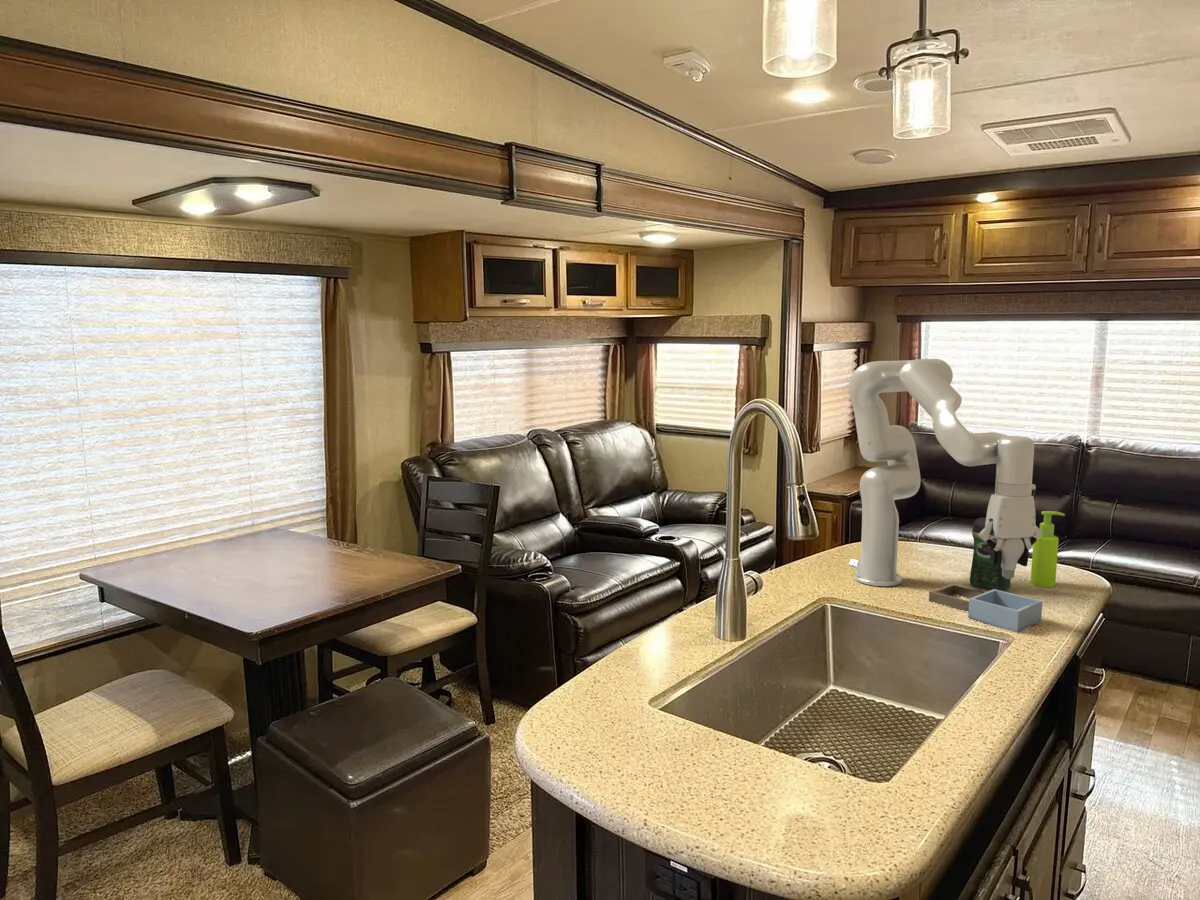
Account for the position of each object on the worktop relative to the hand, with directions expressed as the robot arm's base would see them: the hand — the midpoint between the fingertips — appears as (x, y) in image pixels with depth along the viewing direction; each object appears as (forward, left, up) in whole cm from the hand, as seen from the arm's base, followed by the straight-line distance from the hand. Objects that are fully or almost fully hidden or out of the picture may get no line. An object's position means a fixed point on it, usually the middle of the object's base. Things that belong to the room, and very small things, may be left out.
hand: (1008, 564), depth 191 cm
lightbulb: (0, 0, -4) cm, 4 cm away
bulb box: (0, 0, -14) cm, 14 cm away
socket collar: (-13, +4, -14) cm, 19 cm away
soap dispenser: (-7, +36, -14) cm, 39 cm away
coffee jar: (-15, +22, -14) cm, 30 cm away
